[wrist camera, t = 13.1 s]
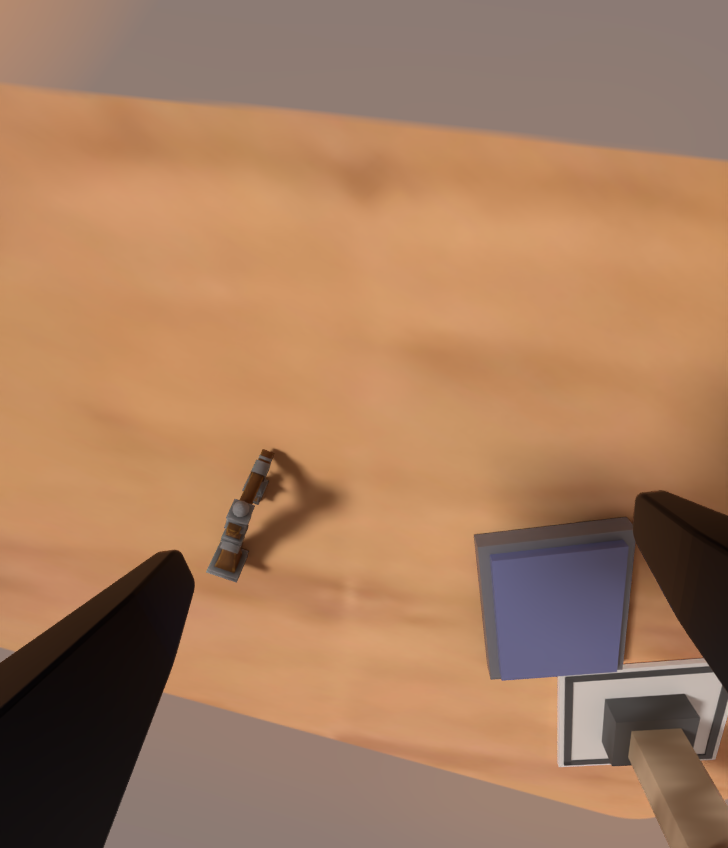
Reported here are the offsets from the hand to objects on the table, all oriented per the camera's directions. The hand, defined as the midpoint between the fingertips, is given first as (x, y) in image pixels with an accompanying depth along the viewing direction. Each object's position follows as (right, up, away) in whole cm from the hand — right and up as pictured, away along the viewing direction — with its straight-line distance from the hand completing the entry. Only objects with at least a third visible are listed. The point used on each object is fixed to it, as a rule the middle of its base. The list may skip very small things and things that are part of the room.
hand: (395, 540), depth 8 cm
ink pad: (+10, -8, +16) cm, 21 cm away
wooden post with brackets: (-7, -2, +15) cm, 17 cm away
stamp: (+19, -18, +20) cm, 33 cm away
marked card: (+19, -18, +21) cm, 33 cm away
